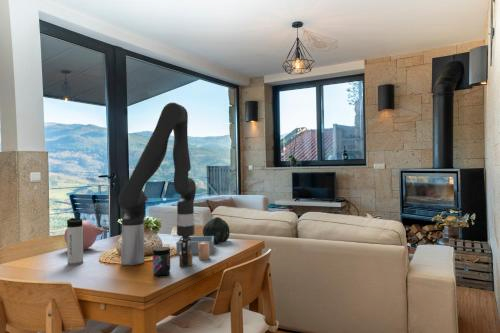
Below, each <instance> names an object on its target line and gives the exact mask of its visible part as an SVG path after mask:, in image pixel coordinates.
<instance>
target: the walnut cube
mask: <svg viewBox="0 0 500 333" xmlns="http://www.w3.org/2000/svg"><path fill="white" fill-rule="evenodd" d="M184 253H186V251H184ZM181 254H182V253H181V252H180V254H178V255H179V256H178V257H179V267H186V266H187V267H188V266H189V267H190V266H192V265H193V254H192V251H188V265H183V256H182V255H181Z"/></svg>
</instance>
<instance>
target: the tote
mask: <svg viewBox="0 0 500 333" xmlns="http://www.w3.org/2000/svg"><path fill="white" fill-rule="evenodd" d="M189 237H190V239H191V243H190V244H191V247H190V251H192V255H199V252H198V243H201V242H208V243H209V254H214V251H215V250H214V249H215V243H214V236H204V235H202V236H189ZM181 240H182V236H179V238H178V239H177V240H176V246H175V247H176V255H179V254H180V252H181Z"/></svg>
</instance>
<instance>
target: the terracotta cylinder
mask: <svg viewBox="0 0 500 333" xmlns="http://www.w3.org/2000/svg"><path fill="white" fill-rule="evenodd" d="M198 252H199V254H198V260H201V261H203V260H204V261H205V260H209V259H210V253H209V243H208V242H201V243H198Z"/></svg>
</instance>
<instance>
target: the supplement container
mask: <svg viewBox="0 0 500 333" xmlns="http://www.w3.org/2000/svg"><path fill="white" fill-rule="evenodd" d="M152 274H153V276H154V277H155V278H165V277H168V276H170V275H171V247H170V246H157V247H153V248H152Z"/></svg>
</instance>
